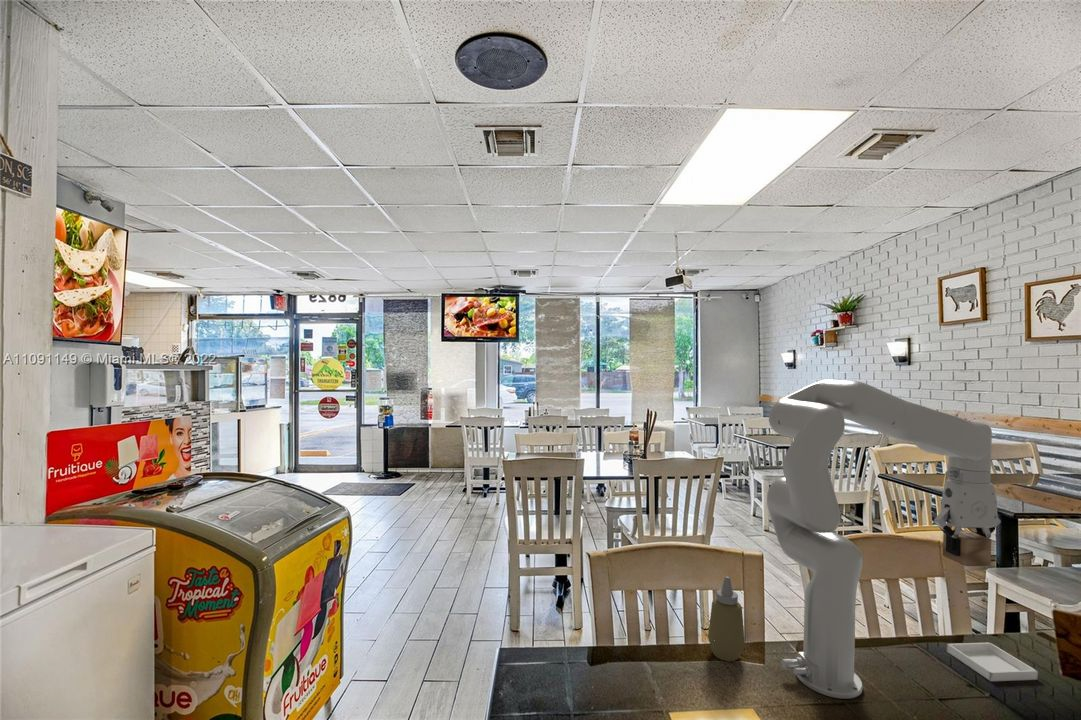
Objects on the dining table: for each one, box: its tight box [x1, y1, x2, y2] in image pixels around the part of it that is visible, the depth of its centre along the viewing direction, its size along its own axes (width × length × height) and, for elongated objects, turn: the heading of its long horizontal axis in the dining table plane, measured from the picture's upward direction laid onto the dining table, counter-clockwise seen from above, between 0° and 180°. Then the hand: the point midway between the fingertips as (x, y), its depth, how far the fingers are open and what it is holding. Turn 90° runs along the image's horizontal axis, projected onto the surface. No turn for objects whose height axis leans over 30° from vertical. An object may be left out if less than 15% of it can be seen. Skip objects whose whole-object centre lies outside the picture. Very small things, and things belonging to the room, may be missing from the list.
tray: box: [946, 642, 1039, 682], centre depth 115 cm, size 11×11×2 cm
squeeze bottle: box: [707, 576, 746, 662], centre depth 118 cm, size 8×8×18 cm
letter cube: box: [942, 529, 992, 567], centre depth 117 cm, size 6×6×6 cm
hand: (966, 552), depth 117 cm, fingers closed on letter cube, 6 cm apart
